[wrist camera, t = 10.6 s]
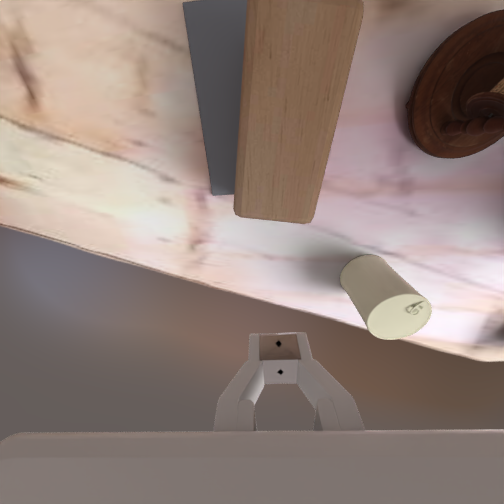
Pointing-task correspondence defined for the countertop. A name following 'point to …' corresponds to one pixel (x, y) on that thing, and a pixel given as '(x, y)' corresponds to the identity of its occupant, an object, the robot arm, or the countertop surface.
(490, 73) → the wooden spool stand
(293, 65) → the block
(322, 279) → the countertop surface
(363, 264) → the can
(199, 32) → the mat
